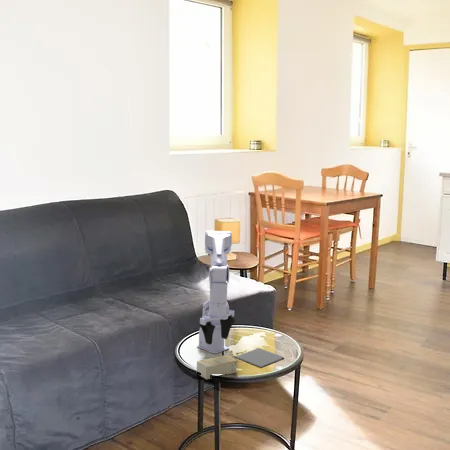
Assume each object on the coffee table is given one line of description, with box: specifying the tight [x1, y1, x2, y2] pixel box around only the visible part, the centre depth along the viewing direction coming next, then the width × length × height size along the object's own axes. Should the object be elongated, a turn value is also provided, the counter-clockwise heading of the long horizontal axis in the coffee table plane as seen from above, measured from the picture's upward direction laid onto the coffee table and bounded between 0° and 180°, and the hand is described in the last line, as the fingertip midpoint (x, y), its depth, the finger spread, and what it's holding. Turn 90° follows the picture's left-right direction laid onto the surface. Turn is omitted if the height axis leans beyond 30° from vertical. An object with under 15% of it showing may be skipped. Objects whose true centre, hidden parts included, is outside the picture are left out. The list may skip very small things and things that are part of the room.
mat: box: [234, 347, 285, 369], centre depth 206 cm, size 12×13×1 cm
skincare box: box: [196, 354, 238, 380], centre depth 191 cm, size 6×4×12 cm
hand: (216, 340), depth 192 cm, fingers open, 7 cm apart
